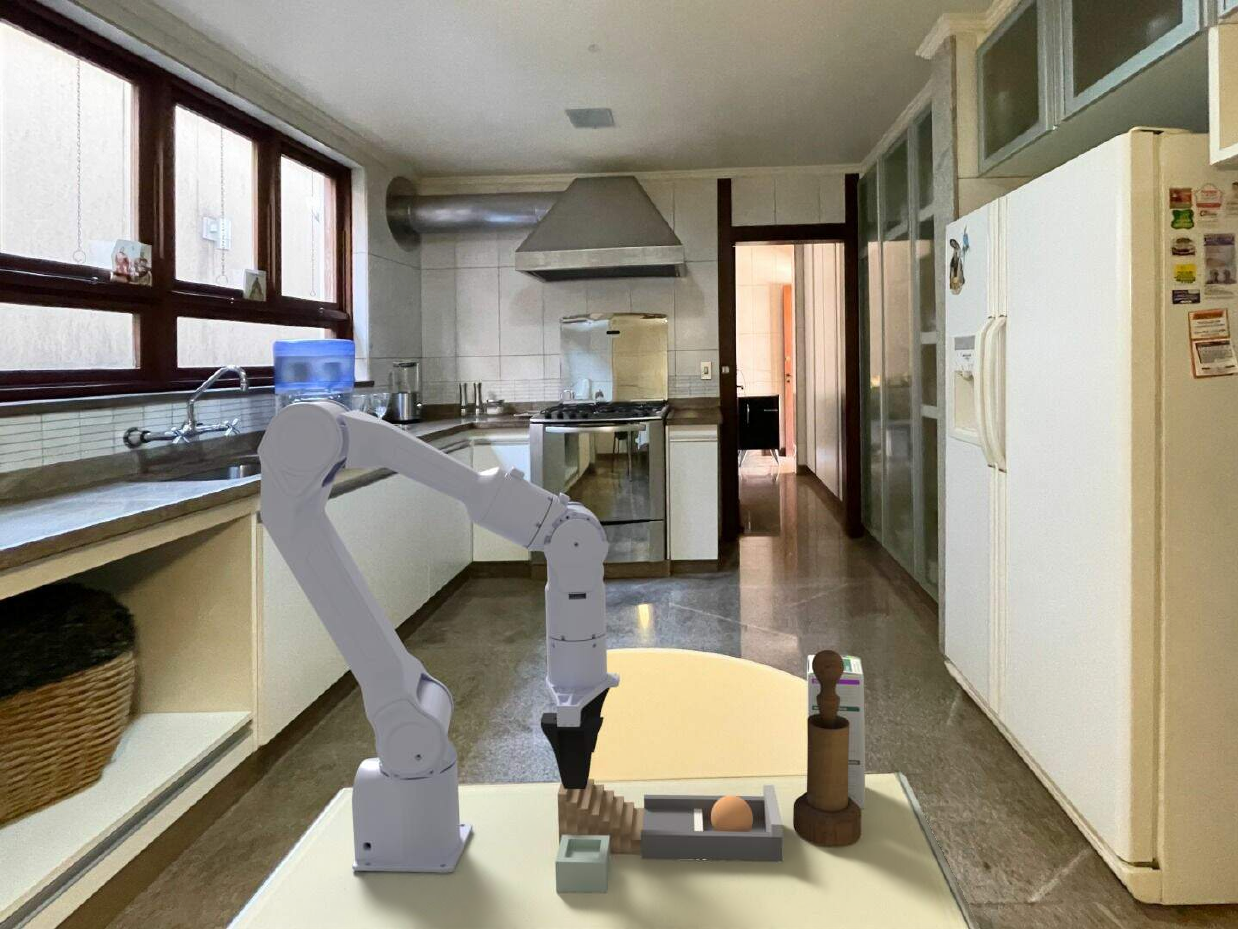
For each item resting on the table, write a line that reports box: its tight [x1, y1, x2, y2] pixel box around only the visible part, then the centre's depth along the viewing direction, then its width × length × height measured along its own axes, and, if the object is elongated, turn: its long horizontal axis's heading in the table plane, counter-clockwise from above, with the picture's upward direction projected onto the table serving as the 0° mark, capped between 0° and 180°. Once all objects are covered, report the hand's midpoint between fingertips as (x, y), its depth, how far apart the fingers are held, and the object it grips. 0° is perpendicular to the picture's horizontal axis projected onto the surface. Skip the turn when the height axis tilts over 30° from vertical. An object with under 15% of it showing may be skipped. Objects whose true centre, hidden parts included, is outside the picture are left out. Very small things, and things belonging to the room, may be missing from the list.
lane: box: [640, 784, 783, 863], centre depth 84 cm, size 13×8×4 cm, turn 86°
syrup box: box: [806, 654, 866, 810], centre depth 91 cm, size 6×6×14 cm
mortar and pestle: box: [792, 649, 862, 848], centre depth 84 cm, size 7×6×18 cm
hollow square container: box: [554, 835, 611, 894], centre depth 78 cm, size 4×4×3 cm
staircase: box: [557, 778, 644, 855], centre depth 84 cm, size 8×6×6 cm
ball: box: [711, 795, 753, 832], centre depth 83 cm, size 4×4×4 cm
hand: (580, 768), depth 84 cm, fingers open, 7 cm apart
